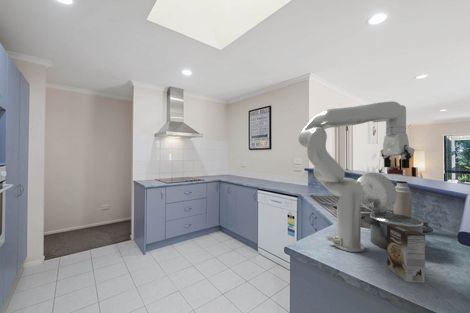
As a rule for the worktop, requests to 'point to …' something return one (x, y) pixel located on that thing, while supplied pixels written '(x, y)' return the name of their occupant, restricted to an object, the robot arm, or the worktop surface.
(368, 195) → the lid
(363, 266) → the worktop surface
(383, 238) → the pot
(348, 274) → the worktop surface
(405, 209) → the thermos bottle
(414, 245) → the coffee box
